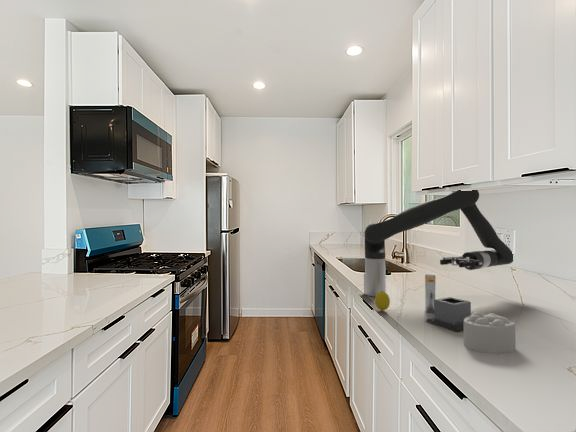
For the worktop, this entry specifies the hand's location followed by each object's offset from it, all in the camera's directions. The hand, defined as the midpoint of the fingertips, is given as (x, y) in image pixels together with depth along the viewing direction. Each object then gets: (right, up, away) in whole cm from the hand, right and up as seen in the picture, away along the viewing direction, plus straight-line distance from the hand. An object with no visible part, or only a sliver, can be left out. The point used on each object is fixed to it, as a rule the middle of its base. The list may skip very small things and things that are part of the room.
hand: (450, 263), depth 135 cm
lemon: (-28, -18, -4) cm, 34 cm away
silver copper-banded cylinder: (-10, -18, -5) cm, 21 cm away
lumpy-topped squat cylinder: (-8, -18, -39) cm, 44 cm away
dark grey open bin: (-9, -18, -20) cm, 28 cm away
